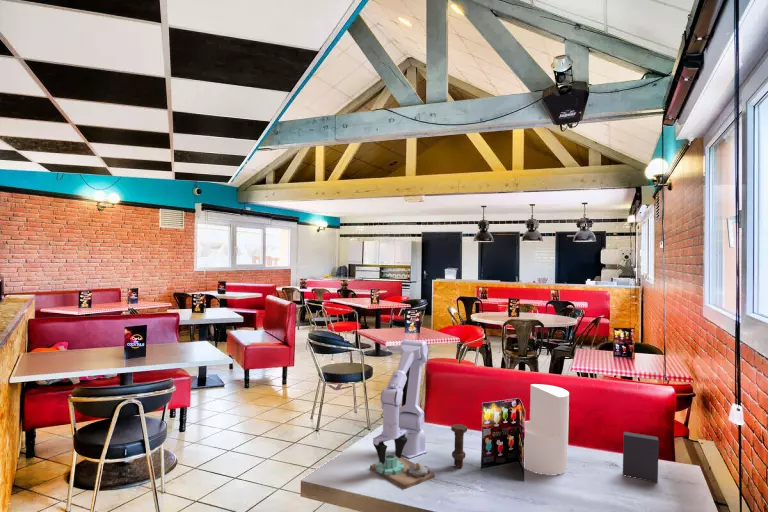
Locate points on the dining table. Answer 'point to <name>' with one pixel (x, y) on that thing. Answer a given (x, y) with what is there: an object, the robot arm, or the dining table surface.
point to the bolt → (458, 444)
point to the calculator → (640, 456)
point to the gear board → (408, 474)
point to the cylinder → (547, 430)
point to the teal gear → (390, 465)
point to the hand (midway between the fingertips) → (390, 459)
